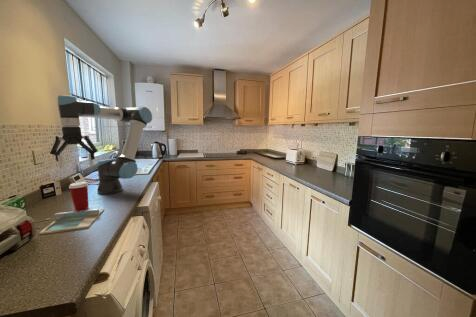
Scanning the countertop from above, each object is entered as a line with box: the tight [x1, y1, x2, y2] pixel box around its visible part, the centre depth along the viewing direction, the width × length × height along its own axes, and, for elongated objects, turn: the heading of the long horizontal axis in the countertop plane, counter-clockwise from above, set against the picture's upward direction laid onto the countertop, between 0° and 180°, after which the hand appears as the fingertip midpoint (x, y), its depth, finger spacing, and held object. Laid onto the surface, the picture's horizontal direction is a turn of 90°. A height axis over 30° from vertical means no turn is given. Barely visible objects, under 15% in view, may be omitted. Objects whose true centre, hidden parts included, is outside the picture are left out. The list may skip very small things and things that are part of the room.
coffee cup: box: [68, 181, 89, 211], centre depth 110 cm, size 8×8×15 cm
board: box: [38, 209, 105, 235], centre depth 97 cm, size 20×18×1 cm
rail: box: [54, 208, 100, 221], centre depth 100 cm, size 2×18×3 cm, turn 106°
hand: (77, 166), depth 107 cm, fingers open, 13 cm apart
